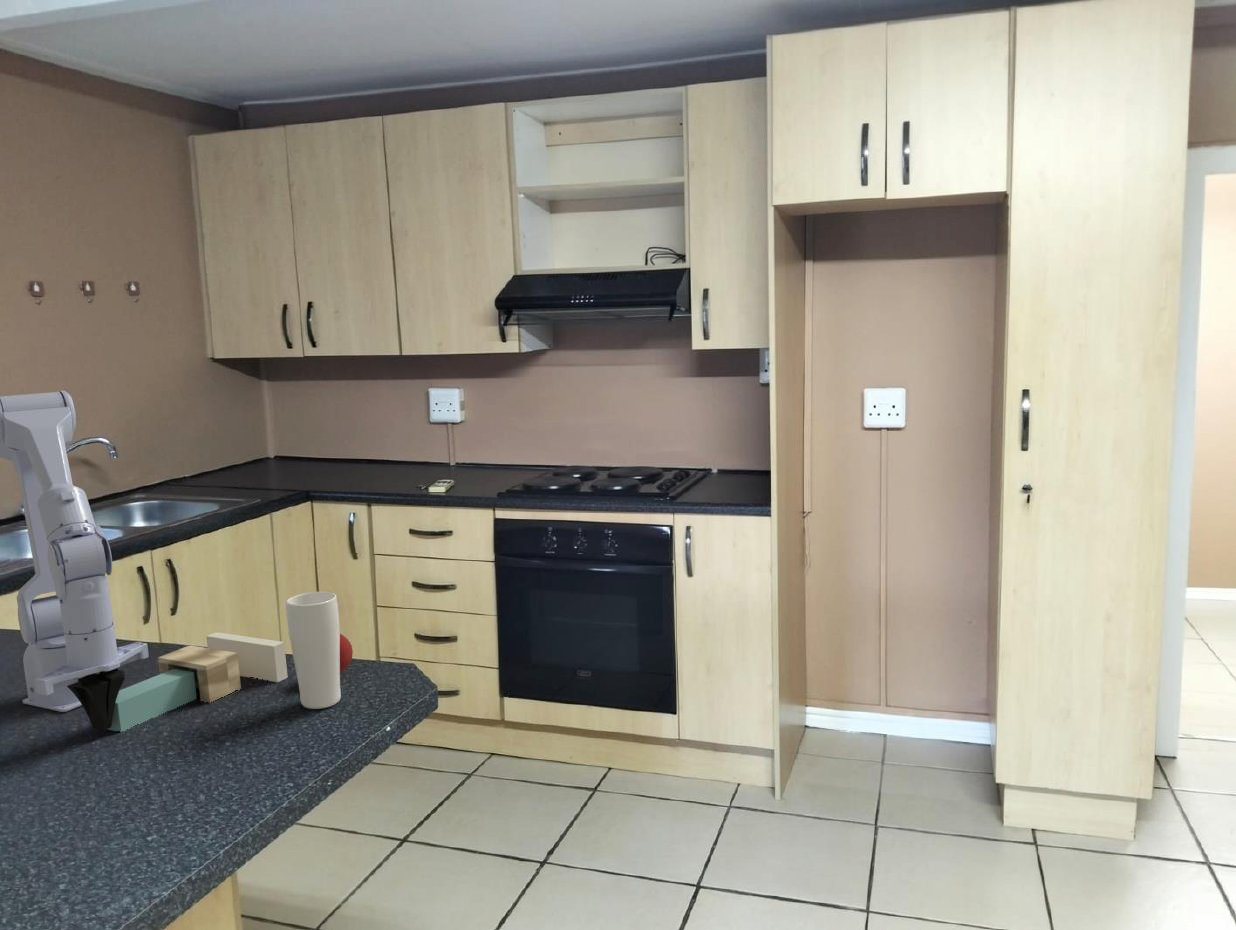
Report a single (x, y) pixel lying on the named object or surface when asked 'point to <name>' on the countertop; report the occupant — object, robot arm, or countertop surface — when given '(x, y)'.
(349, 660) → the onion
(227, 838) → the countertop surface
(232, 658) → the block
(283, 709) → the countertop surface
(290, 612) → the drinking glass
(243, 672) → the wall
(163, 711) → the mint green rectangular prism
